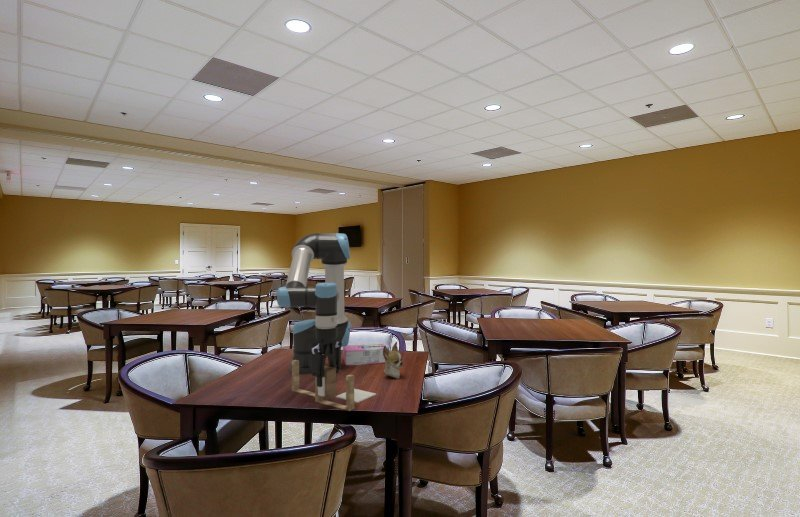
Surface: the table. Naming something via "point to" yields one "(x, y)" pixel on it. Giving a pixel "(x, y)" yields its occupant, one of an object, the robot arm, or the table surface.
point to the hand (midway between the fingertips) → (326, 393)
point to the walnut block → (329, 382)
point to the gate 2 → (349, 395)
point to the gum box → (363, 354)
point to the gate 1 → (296, 379)
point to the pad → (357, 395)
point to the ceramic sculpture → (392, 361)
